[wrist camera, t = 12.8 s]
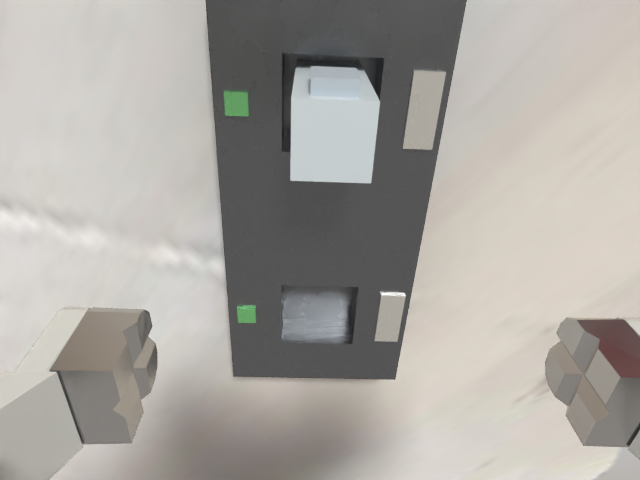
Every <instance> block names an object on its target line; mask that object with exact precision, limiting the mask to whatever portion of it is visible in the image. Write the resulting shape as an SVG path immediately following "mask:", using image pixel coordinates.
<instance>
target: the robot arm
mask: <svg viewBox="0 0 640 480" xmlns="http://www.w3.org/2000/svg"><path fill="white" fill-rule="evenodd" d="M151 328H152V322H151V318H150V314H149V312H148V311H146V310H143V309H118V308H94V307H93V308H83V307H65V308H63V309H61V310H59V311H58V312H57V314H56V315H55V316H54V318H53V319H52V320H51V322H50V323H49V325H48V326H47V327H46V329H45V330H44V331H43V333H42V334H41V336H40V337H39V338H38V340H37V341H36V342H35V344H34V345H33V347H32V348H31V349H30V351H29V352H28V353H27V355H26V356H25V358H24V359H23V360H22V362H21V363H20V364H19V366H18V367H17V369H16V370H15V371H5V372H3V373H2V374H0V480H49V479H50V478H51V477H52V476H53V475H54V474H55V473H57V472H58V471H59V470H60V469H61V468H62V467H63V466H64V465H65V464H66V463H67V462H68V461H69V460H70V459H71V458H72V457H73V456H74V455H75V454H76V453H77V452H78V451H79V450H81V449H82V448H83V445H82V444H119V443H132V441H133V439H134V436H135V433H136V431H137V428H138V425H139V423H140V420H141V417H142V414H143V407H142V403H141V399H143V398H144V397H145V396H146V395H148V394H149V393H150V392H151V390H152V387H153V384H154V381H155V376H156V370H157V349H156V343H155V342H154V341H152V340H151V339H150V338H149V337H148V335H149V333H150V330H151ZM557 335H558V337H559V339H560V342H559V343H557V344H556V345H555V346H553V347H552V348H551V349H550V350H549V352H548V355H547V358H546V361H545V375H546V379H547V382H548V385H549V387H550V389H551V391H552V393H553V395H554V396H555V397H556V398H558V399H559V400H560V401H562V402H563V403H564V404H566V405H567V406H568V407H567V411H566V417H567V419H568V420H569V422H570V424H571V426H572V427H573V429H574V431H575V432H576V434H577V436H578V438H579V439H580V441H581V443H582V444H583V446H607V447H629V448H628V450H629V451H630V452H631V453H632V454H634V455H635V456H636V457H637V458H638V459H639V460H640V318H566V319H565V320H564V321H563V322H561V324H560V326H559V328H558V330H557Z"/></svg>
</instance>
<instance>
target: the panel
mask: <svg viewBox="0 0 640 480" xmlns="http://www.w3.org/2000/svg"><path fill="white" fill-rule="evenodd" d="M466 1H467V0H206V12H207V25H208V38H209V52H210V65H211V79H212V92H213V106H214V119H215V133H216V146H217V160H218V173H219V186H220V200H221V213H222V227H223V240H224V254H225V267H226V281H227V294H228V307H229V321H230V334H231V348H232V361H233V375H234V376H237V377H290V378H343V379H395V377H396V372H397V367H398V361H399V356H400V351H401V346H402V340H403V335H404V330H405V324H406V319H407V314H408V308H409V303H410V298H411V293H412V287H413V282H414V277H415V271H416V266H417V261H418V255H419V250H420V245H421V240H422V234H423V229H424V224H425V218H426V213H427V208H428V202H429V197H430V192H431V187H432V181H433V176H434V171H435V165H436V160H437V155H438V149H439V144H440V139H441V134H442V128H443V123H444V118H445V112H446V107H447V102H448V96H449V91H450V86H451V81H452V75H453V70H454V65H455V59H456V54H457V49H458V43H459V38H460V33H461V28H462V22H463V17H464V12H465V6H466ZM297 61H310V62H333V63H357V64H361V65H362V67H363V69H364V71H365V73H366V75H367V77H368V79H369V81H370V82H371V84H372V86H373V88H374V90H375V92H376V94H377V96H378V98H379V100H380V108H379V117H378V126H377V135H376V144H375V153H374V162H373V171H372V180H371V183H343V182H313V181H290V161H291V96H292V89H293V82H294V75H295V69H296V62H297Z"/></svg>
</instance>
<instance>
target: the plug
mask: <svg viewBox="0 0 640 480" xmlns="http://www.w3.org/2000/svg"><path fill="white" fill-rule="evenodd" d="M379 108H380V100H379V98H378V96H377V94H376V92H375V90H374V88H373V86H372V84H371V82H370V81H369V79H368V77H367V75H366V73H365V71H364V69H363V67H362V65H361V64H357V63H333V62H310V61H297V62H296V69H295V75H294V82H293V89H292V96H291V161H290V181H313V182H343V183H371V180H372V171H373V162H374V153H375V144H376V135H377V126H378V117H379Z"/></svg>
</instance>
